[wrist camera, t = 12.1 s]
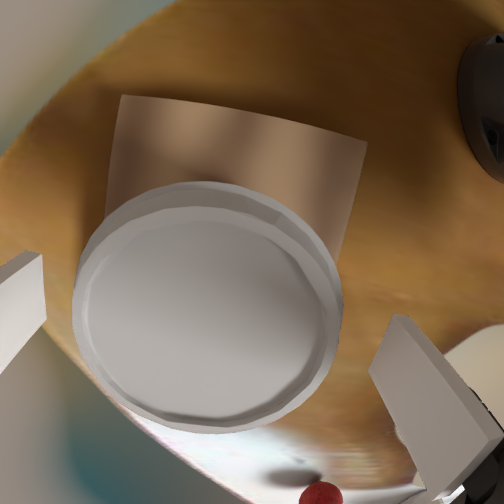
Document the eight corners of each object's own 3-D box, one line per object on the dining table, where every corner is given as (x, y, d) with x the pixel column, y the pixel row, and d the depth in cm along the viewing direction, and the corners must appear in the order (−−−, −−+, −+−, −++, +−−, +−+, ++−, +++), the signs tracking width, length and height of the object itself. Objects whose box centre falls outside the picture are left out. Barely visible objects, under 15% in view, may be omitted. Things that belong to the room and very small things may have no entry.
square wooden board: (352, 141, 22) (368, 141, 19) (300, 331, 27) (307, 352, 24) (134, 99, 20) (121, 94, 17) (113, 300, 25) (101, 318, 22)
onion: (309, 469, 35) (320, 518, 27) (344, 472, 36) (358, 517, 28) (288, 489, 36) (295, 534, 29) (322, 491, 37) (332, 534, 30)
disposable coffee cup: (120, 250, 21) (30, 355, 9) (201, 130, 19) (154, 114, 7) (233, 325, 23) (236, 466, 12) (321, 221, 21) (410, 312, 10)
